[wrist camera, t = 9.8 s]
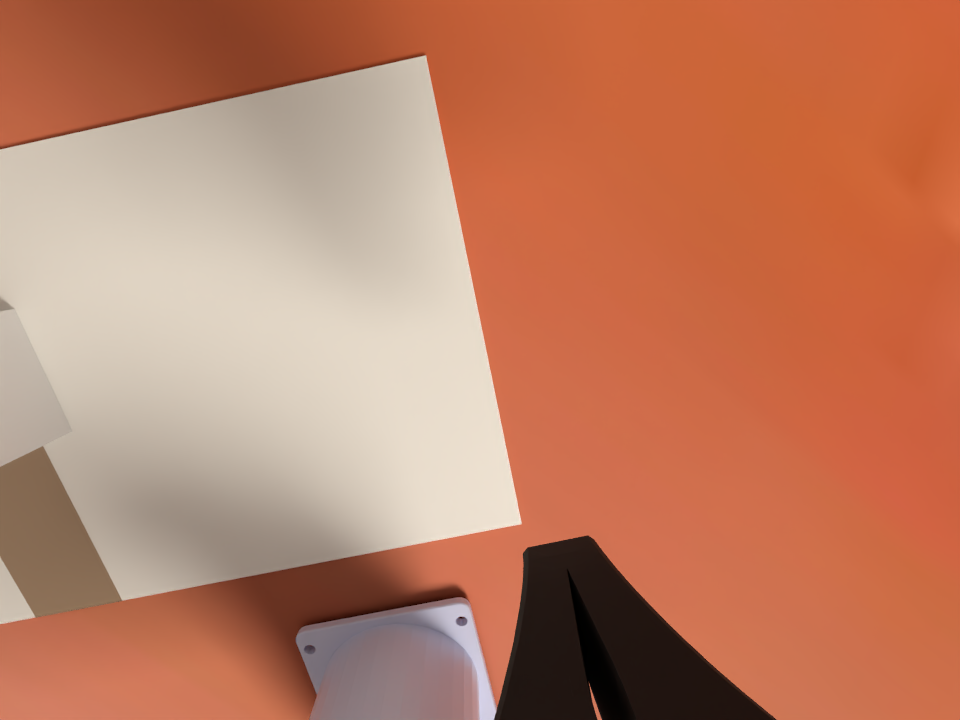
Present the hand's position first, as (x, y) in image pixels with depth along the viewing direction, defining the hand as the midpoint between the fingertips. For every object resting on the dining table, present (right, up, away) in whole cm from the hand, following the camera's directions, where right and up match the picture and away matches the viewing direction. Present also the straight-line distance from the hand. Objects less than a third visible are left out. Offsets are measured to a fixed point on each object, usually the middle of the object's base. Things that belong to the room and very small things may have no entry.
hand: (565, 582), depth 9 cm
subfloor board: (-15, +3, +8) cm, 18 cm away
